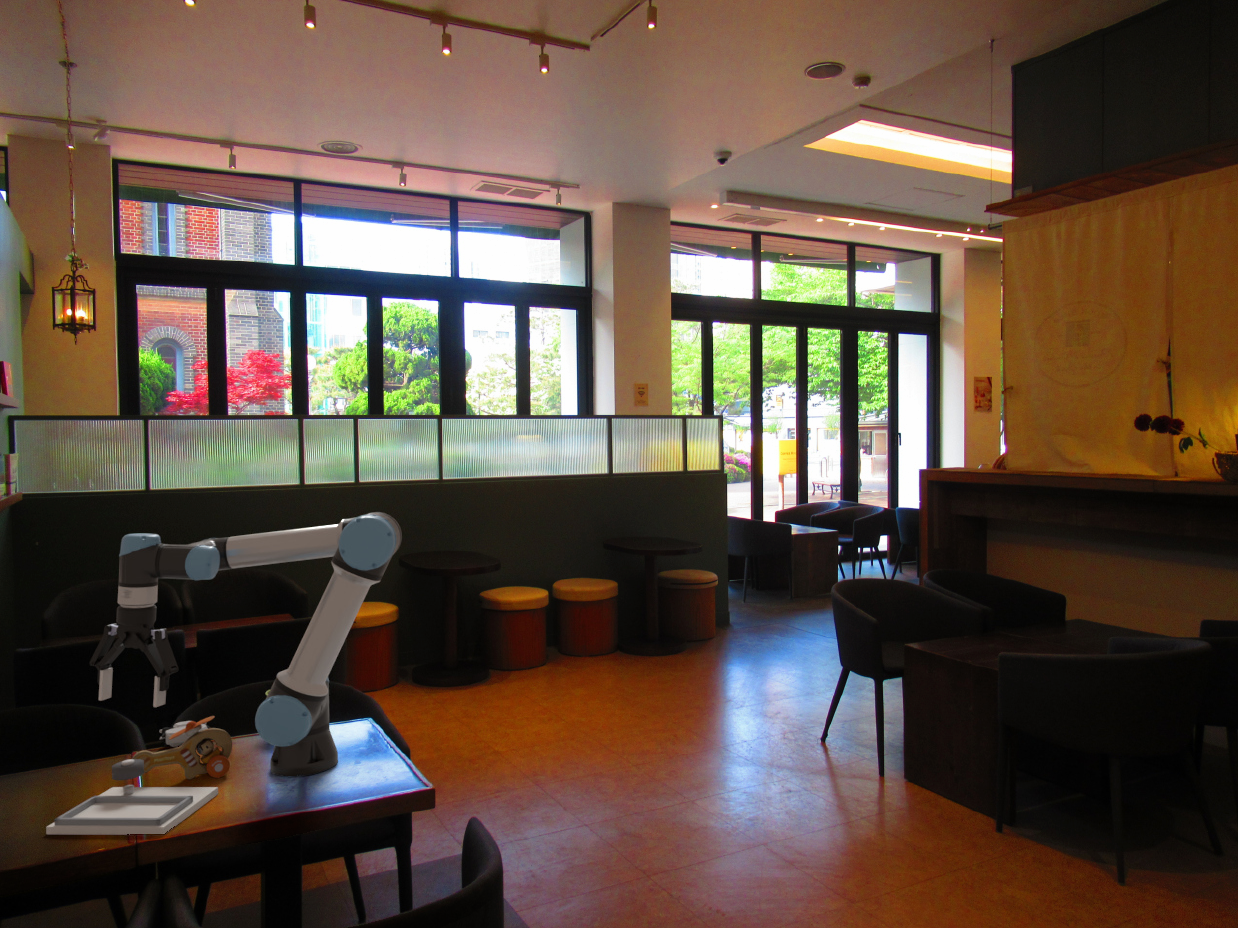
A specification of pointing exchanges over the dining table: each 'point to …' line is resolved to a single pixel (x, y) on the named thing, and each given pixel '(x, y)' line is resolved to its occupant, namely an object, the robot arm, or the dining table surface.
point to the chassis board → (132, 811)
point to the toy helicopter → (194, 752)
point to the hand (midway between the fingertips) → (131, 702)
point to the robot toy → (179, 739)
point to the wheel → (128, 769)
